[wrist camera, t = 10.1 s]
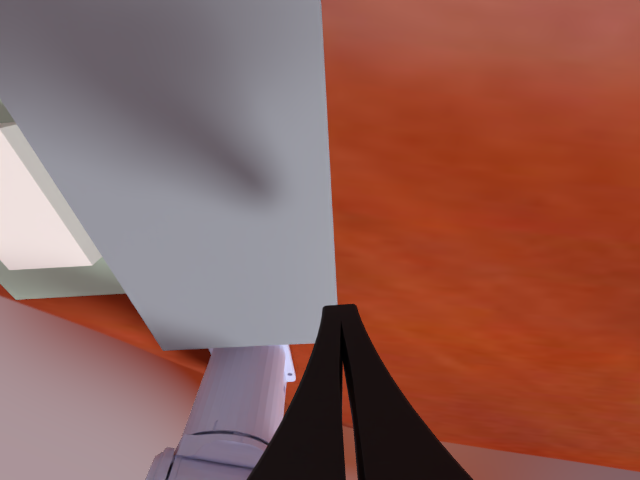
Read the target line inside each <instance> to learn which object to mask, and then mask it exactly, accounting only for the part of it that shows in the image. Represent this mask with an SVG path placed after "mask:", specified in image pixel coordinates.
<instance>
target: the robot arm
mask: <svg viewBox="0 0 640 480" xmlns="http://www.w3.org/2000/svg"><path fill="white" fill-rule="evenodd" d="M208 349H209V351H210V353H211V357H210V360H209V363H208V365H207V368H206V371H205V374H204V377H203V379H202V382H201V385H200V388H199V390H198V393H197V396H196V399H195V402H194V404H193V407H192V410H191V413H190V416H189V418H188V421H187V424H186V427H185V429H184V433H183V435H182V438H181V440H180V442H179V444H178V446H177V448H176V450H175V451H174V448H170V447H167V448H165V450H164V452H161V453H160V454H158V455H157V456H155V458H154V460H153V462H152V465H151V467H150V470H149V472H148V474H147V477H146V479H145V480H346V476H345V461H344V445H343V430H342V373H343V365H344V371H345V377H346V383H347V389H348V395H349V401H350V408H351V414H352V421H353V429H354V440H355V452H356V463H357V475H358V480H473V479H472V478H471V477H470V476H469V475H468V473H467V472H466V471H465V470H464V469H463V468H462V467H461V466H460V464H459V463H458V462H457V461H456V460H455V459H454V458H453V457H452V455H451V454H450V453H449V452H448V451H447V450H446V448H445V447H444V446H443V445H442V444H441V443H440V441H439V440H438V439H437V438H436V437H435V435H434V434H433V433H432V432H431V430H430V429H429V428H428V426H427V425H426V424H425V423H424V421H423V420H422V419H421V418H420V416H419V415H418V414H417V413H416V411H415V410H414V409H413V407H412V406H411V404H410V403H409V402H408V400H407V399H406V398H405V396H404V395H403V393H402V392H401V390H400V389H399V387H398V386H397V384H396V383H395V381H394V380H393V378H392V377H391V375H390V374H389V372H388V370H387V369H386V367H385V365H384V364H383V362H382V360H381V359H380V357H379V355H378V353H377V352H376V350H375V348H374V346H373V344H372V342H371V340H370V338H369V336H368V334H367V332H366V330H365V328H364V325H363V323H362V321H361V318H360V315H359V313H358V309H357V306H356V305H355V304H345V305H327V306H324V307H323V308H322V317H321V322H320V327H319V331H318V334H317V338H316V341H315V344H314V348H313V351H312V354H311V356H310V359H309V362H308V364H307V367H306V370H305V372H304V375H303V377H302V380H301V382H300V384H299V386H298V389H297V391H296V393H295V395H294V397H293V399H292V401H291V403H290V405H289V407H288V409H287V411H286V413H285V415H284V417H283V413H284V403H285V393H286V383H287V382H293V381H295V380H296V375H295V370H294V366H293V361H292V357H291V352H290V348H289V344H287V345H267V346H247V347H226V348H208Z"/></svg>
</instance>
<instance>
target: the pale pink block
mask: <svg viewBox="0 0 640 480" xmlns="http://www.w3.org/2000/svg"><path fill="white" fill-rule="evenodd" d="M101 257H102V256H101V254H100V252H99V251H98V249H97V248H96V246H95V245H94V243H93V242H92V240H91V239H90V237H89V235H88V234H87V232H86V231H85V229H84V228H83V226H82V225H81V223H80V222H79V220H78V218H77V217H76V215H75V214H74V212H73V211H72V209H71V208H70V206H69V205H68V203H67V201H66V200H65V198H64V197H63V195H62V194H61V192H60V191H59V189H58V188H57V186H56V184H55V183H54V181H53V180H52V178H51V177H50V175H49V174H48V172H47V171H46V169H45V167H44V166H43V164H42V163H41V161H40V160H39V158H38V157H37V155H36V154H35V152H34V150H33V149H32V147H31V146H30V144H29V143H28V141H27V140H26V138H25V137H24V135H23V133H22V132H21V130H20V129H19V127H18V126H17V124H16V123H15V122H8V123H0V260H1V262H2V263H3V264H4V265H5V266H6V267H7V268H8V269H9V270H22V269H39V268H57V267H75V266H92V265H94V264H95V263H96V262H97V261H98V260H99V259H100V258H101Z"/></svg>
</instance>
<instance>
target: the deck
mask: <svg viewBox="0 0 640 480" xmlns="http://www.w3.org/2000/svg"><path fill="white" fill-rule="evenodd" d="M0 99H1V101H2V103H3V104H4V106H5V107H6V109H7V110H8V112H9V113H10V115H11V116H12V118H13V120H14V121H15V123H16V124H17V126H18V127H19V129H20V130H21V132H22V133H23V135H24V137H25V138H26V140H27V141H28V143H29V144H30V146H31V147H32V149H33V150H34V152H35V154H36V155H37V157H38V158H39V160H40V161H41V163H42V164H43V166H44V167H45V169H46V171H47V172H48V174H49V175H50V177H51V178H52V180H53V181H54V183H55V184H56V186H57V188H58V189H59V191H60V192H61V194H62V195H63V197H64V198H65V200H66V201H67V203H68V205H69V206H70V208H71V209H72V211H73V212H74V214H75V215H76V217H77V218H78V220H79V222H80V223H81V225H82V226H83V228H84V229H85V231H86V232H87V234H88V235H89V237H90V239H91V240H92V242H93V243H94V245H95V246H96V248H97V249H98V251H99V252H100V254H101V256H102V257H103V259H104V260H105V262H106V263H107V265H108V266H109V268H110V269H111V271H112V273H113V274H114V276H115V277H116V279H117V280H118V282H119V283H120V285H121V286H122V288H123V290H124V291H125V293H126V294H127V296H128V297H129V299H130V300H131V302H132V303H133V305H134V307H135V308H136V310H137V311H138V313H139V314H140V316H141V317H142V319H143V320H144V322H145V324H146V325H147V327H148V328H149V330H150V331H151V333H152V334H153V336H154V337H155V339H156V341H157V342H158V344H159V345H160V347H161V348H162V350H163V351H165V350H185V349H206V348H226V347H247V346H267V345H287V344H308V343H315V341H316V338H317V334H318V331H319V327H320V322H321V317H322V308H323V307H324V306H327V305H337V290H336V271H335V252H334V234H333V215H332V197H331V178H330V159H329V141H328V122H327V104H326V85H325V67H324V48H323V29H322V11H321V0H0Z"/></svg>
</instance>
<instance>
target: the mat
mask: <svg viewBox="0 0 640 480" xmlns="http://www.w3.org/2000/svg"><path fill="white" fill-rule="evenodd" d="M8 122H15V121H14V120H13V118H12V116H11V115H10V113H9V112H8V110H7V109H6V107H5V106H4V104H3V103H2V101H1V99H0V123H8ZM0 284H1V285H2V286H3V287H4V288H5V289H6V290H7V291H8V292H9V293H10V294H11V295H12V296H13V297H14V298H15V299H16V300H20V299H37V298H55V297H72V296H90V295H107V294H125V291H124V290H123V288H122V286H121V285H120V283H119V282H118V280H117V279H116V277H115V276H114V274H113V273H112V271H111V269H110V268H109V266H108V265H107V263H106V262H105V260H104V259H103V257H101V258H100V259H99V260H98V261H97V262H96V263H95V264H94V265H92V266H75V267H57V268H39V269H22V270H9V269H8V268H7V267H6V266H5V265H4V264H3V263H2V262H1V260H0Z"/></svg>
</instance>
